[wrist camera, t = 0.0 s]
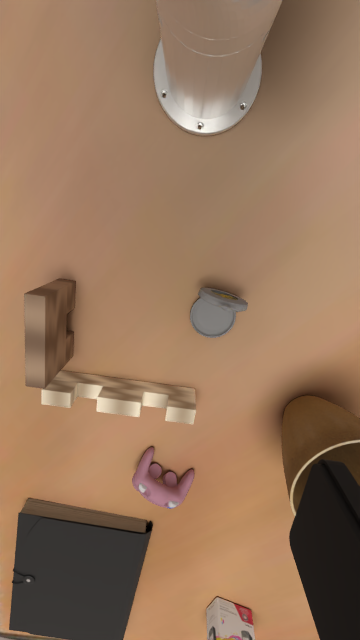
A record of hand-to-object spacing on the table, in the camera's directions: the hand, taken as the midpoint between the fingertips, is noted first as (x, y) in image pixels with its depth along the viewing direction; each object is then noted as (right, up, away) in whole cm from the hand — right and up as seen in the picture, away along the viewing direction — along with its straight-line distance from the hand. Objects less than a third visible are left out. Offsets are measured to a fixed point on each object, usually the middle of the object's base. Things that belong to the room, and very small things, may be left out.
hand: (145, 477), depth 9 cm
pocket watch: (+6, +6, +37) cm, 38 cm away
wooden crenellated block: (-8, -6, +41) cm, 42 cm away
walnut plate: (-16, +5, +37) cm, 41 cm away
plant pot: (+22, -11, +42) cm, 48 cm away
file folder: (-19, -46, +54) cm, 74 cm away
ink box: (+11, -57, +56) cm, 81 cm away
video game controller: (-2, -22, +46) cm, 51 cm away
